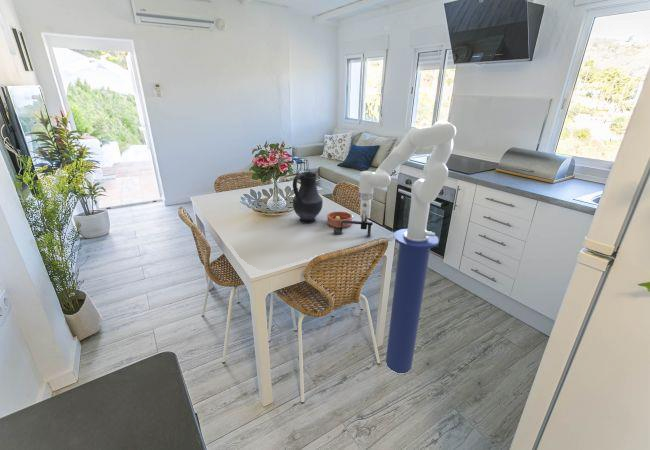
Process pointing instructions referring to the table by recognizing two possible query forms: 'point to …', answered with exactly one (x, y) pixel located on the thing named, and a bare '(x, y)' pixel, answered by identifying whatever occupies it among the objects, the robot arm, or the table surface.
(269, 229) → the table surface
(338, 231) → the black lever handle
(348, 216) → the bowl
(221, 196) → the table surface
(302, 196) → the pitcher
